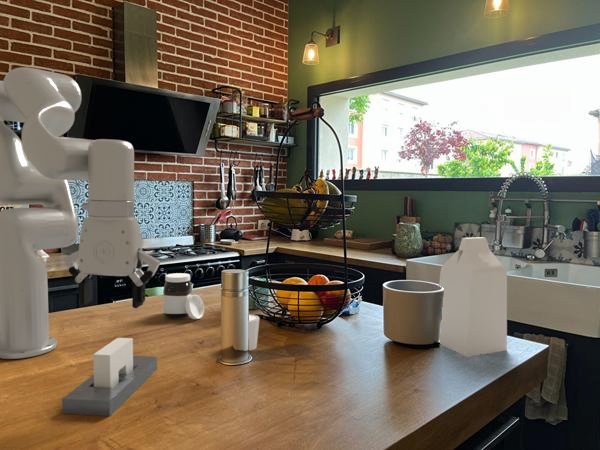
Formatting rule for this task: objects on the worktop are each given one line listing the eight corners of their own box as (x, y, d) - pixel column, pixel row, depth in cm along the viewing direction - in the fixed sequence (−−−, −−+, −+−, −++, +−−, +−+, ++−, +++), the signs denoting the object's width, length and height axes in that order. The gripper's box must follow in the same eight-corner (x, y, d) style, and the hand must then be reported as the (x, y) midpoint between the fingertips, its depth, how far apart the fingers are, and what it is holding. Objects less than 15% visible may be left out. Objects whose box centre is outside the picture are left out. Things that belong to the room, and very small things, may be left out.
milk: (471, 335, 122) (475, 234, 119) (506, 350, 111) (512, 239, 109) (433, 341, 117) (437, 236, 115) (466, 356, 106) (472, 241, 104)
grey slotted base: (62, 413, 77) (62, 398, 77) (119, 366, 97) (118, 354, 97) (109, 416, 77) (109, 401, 76) (157, 368, 97) (156, 356, 96)
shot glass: (254, 353, 106) (254, 322, 106) (225, 350, 108) (225, 320, 107) (262, 343, 113) (263, 314, 112) (235, 341, 114) (235, 312, 114)
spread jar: (167, 311, 140) (166, 272, 139) (206, 310, 141) (206, 271, 140) (159, 322, 128) (159, 280, 127) (202, 322, 130) (202, 280, 129)
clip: (94, 399, 83) (93, 354, 82) (118, 378, 92) (117, 337, 91) (110, 400, 82) (109, 355, 82) (133, 379, 91) (132, 338, 91)
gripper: (52, 209, 81) (54, 307, 83) (150, 213, 80) (150, 313, 81) (76, 207, 89) (77, 297, 90) (166, 210, 87) (166, 302, 89)
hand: (112, 304), depth 86 cm, fingers open, 9 cm apart
